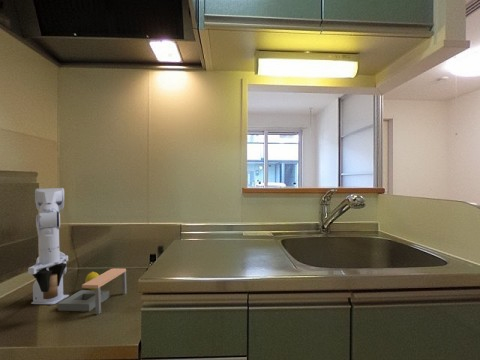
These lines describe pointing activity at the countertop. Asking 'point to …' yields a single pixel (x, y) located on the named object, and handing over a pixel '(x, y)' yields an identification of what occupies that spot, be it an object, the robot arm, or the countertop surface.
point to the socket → (81, 301)
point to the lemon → (90, 277)
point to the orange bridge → (103, 280)
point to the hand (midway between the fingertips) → (50, 288)
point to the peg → (51, 288)
